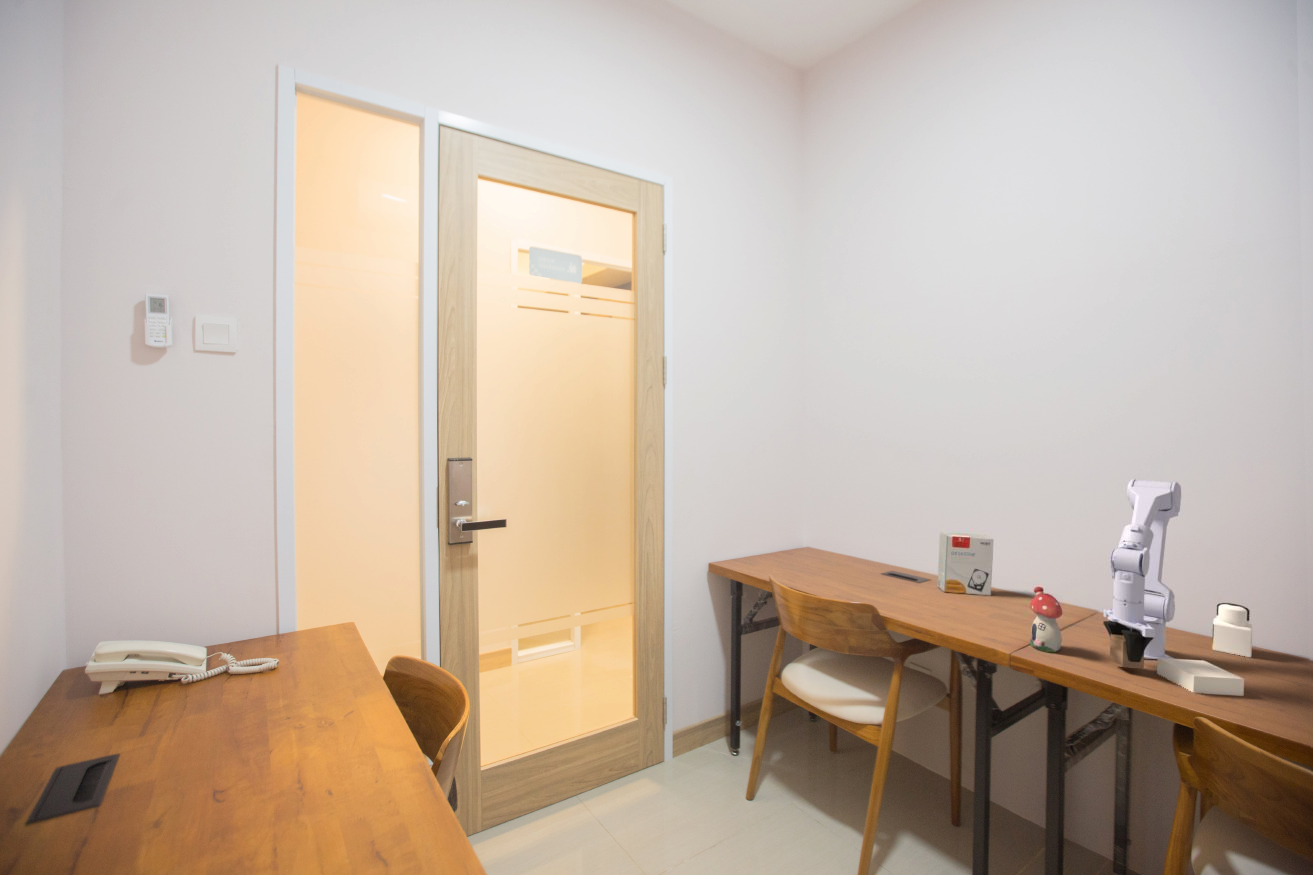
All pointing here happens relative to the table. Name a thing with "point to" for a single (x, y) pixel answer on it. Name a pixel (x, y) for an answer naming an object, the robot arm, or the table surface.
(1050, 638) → the decorative ornament
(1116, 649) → the walnut block
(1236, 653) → the medicine bottle
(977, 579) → the hard drive box
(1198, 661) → the ceramic base
